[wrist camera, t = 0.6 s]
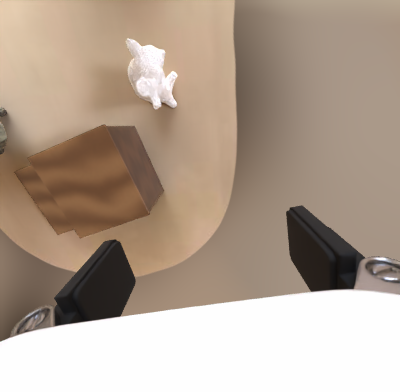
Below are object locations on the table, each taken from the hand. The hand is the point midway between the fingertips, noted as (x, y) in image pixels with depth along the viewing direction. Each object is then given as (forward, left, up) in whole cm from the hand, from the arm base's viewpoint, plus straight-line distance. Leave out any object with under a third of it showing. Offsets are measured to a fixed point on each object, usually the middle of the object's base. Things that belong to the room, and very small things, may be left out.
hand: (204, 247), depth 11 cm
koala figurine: (-14, -3, -28) cm, 31 cm away
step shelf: (-4, -21, -28) cm, 35 cm away
